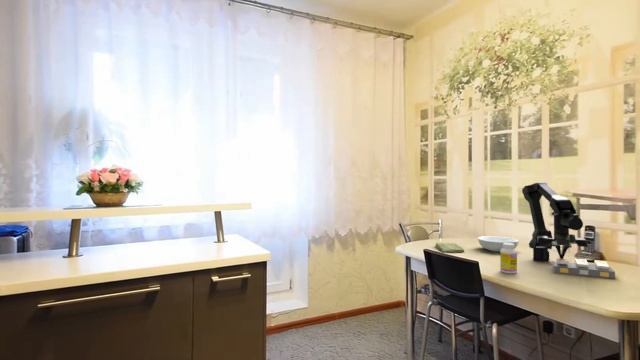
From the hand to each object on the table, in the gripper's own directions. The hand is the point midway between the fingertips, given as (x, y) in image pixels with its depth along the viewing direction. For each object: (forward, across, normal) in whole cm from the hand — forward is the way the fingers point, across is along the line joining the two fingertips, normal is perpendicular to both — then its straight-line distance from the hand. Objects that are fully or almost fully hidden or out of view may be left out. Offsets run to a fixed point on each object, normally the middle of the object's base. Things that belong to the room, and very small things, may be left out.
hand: (561, 259), depth 161 cm
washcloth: (+6, -53, +22) cm, 58 cm away
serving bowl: (+6, -27, +31) cm, 42 cm away
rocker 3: (0, +14, -4) cm, 15 cm away
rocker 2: (0, +7, -4) cm, 8 cm away
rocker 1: (0, 0, -4) cm, 4 cm away
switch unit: (+4, +7, -4) cm, 9 cm away
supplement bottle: (+4, -22, -16) cm, 27 cm away
